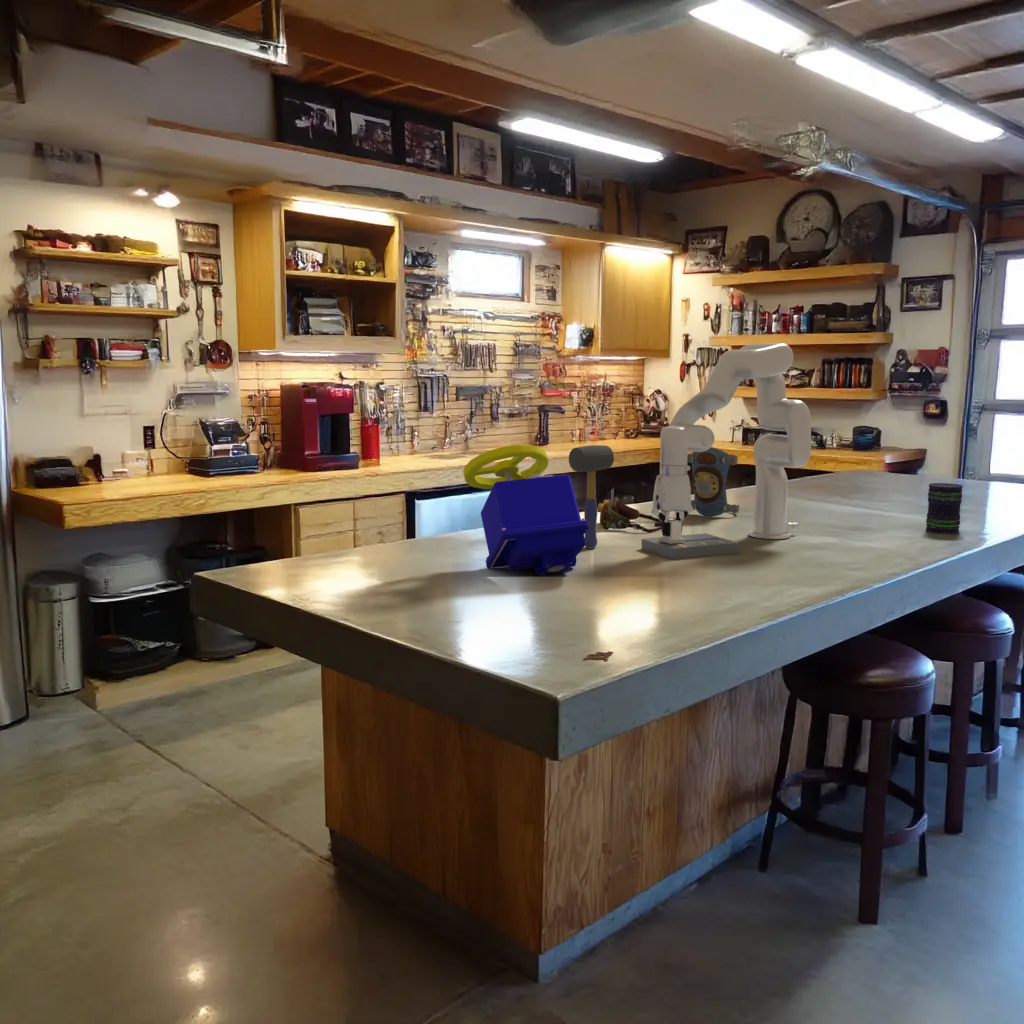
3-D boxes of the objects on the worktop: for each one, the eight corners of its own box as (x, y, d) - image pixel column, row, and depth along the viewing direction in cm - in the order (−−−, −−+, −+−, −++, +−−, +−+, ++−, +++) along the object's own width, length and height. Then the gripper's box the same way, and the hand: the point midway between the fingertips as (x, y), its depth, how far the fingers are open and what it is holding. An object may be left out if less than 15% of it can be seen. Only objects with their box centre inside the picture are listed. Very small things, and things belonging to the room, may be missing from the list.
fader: (673, 538, 257) (673, 517, 256) (685, 542, 251) (685, 521, 250) (658, 540, 255) (658, 519, 254) (669, 543, 250) (670, 522, 249)
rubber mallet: (582, 552, 254) (583, 447, 249) (565, 548, 260) (566, 445, 255) (614, 547, 261) (616, 445, 257) (597, 543, 267) (598, 443, 263)
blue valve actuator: (601, 549, 215) (573, 438, 225) (494, 563, 208) (470, 448, 218) (572, 582, 238) (548, 480, 248) (475, 596, 231) (454, 490, 241)
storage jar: (955, 535, 279) (959, 487, 277) (922, 532, 285) (925, 485, 283) (962, 530, 287) (965, 484, 285) (929, 527, 293) (932, 482, 290)
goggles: (673, 533, 284) (673, 502, 282) (599, 534, 284) (599, 503, 283) (662, 523, 308) (662, 494, 307) (594, 524, 308) (593, 495, 307)
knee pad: (676, 516, 317) (678, 445, 313) (699, 509, 333) (701, 442, 329) (725, 520, 307) (728, 448, 303) (746, 513, 323) (749, 444, 319)
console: (705, 543, 267) (705, 533, 267) (738, 553, 253) (738, 542, 252) (641, 548, 259) (641, 538, 259) (671, 559, 244) (671, 548, 244)
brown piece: (610, 626, 183) (610, 623, 182) (632, 628, 181) (632, 625, 181) (581, 662, 160) (581, 658, 160) (606, 664, 159) (606, 661, 159)
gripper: (690, 468, 257) (688, 531, 259) (641, 470, 250) (639, 535, 253) (705, 470, 250) (703, 535, 253) (655, 473, 244) (653, 539, 246)
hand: (671, 534), depth 253 cm, fingers closed on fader, 3 cm apart
